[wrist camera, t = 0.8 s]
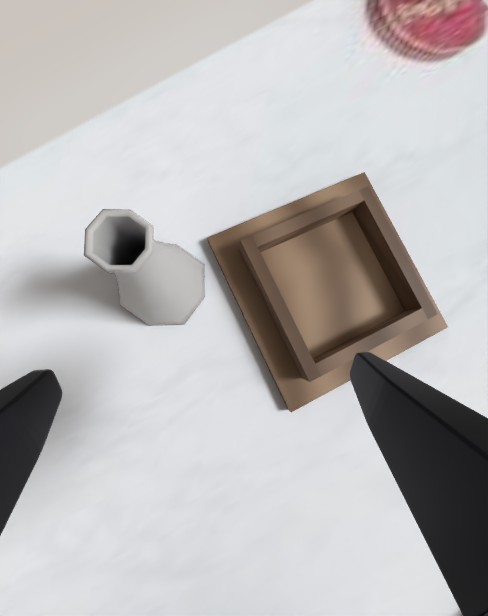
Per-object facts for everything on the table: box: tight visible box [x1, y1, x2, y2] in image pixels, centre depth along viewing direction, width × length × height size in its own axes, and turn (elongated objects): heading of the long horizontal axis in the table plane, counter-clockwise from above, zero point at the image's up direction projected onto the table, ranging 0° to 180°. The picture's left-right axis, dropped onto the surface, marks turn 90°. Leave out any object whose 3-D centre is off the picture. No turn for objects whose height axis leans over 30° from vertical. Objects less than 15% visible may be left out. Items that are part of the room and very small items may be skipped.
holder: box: [208, 172, 448, 412], centre depth 22 cm, size 16×16×3 cm
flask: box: [84, 209, 205, 325], centre depth 17 cm, size 7×7×10 cm
